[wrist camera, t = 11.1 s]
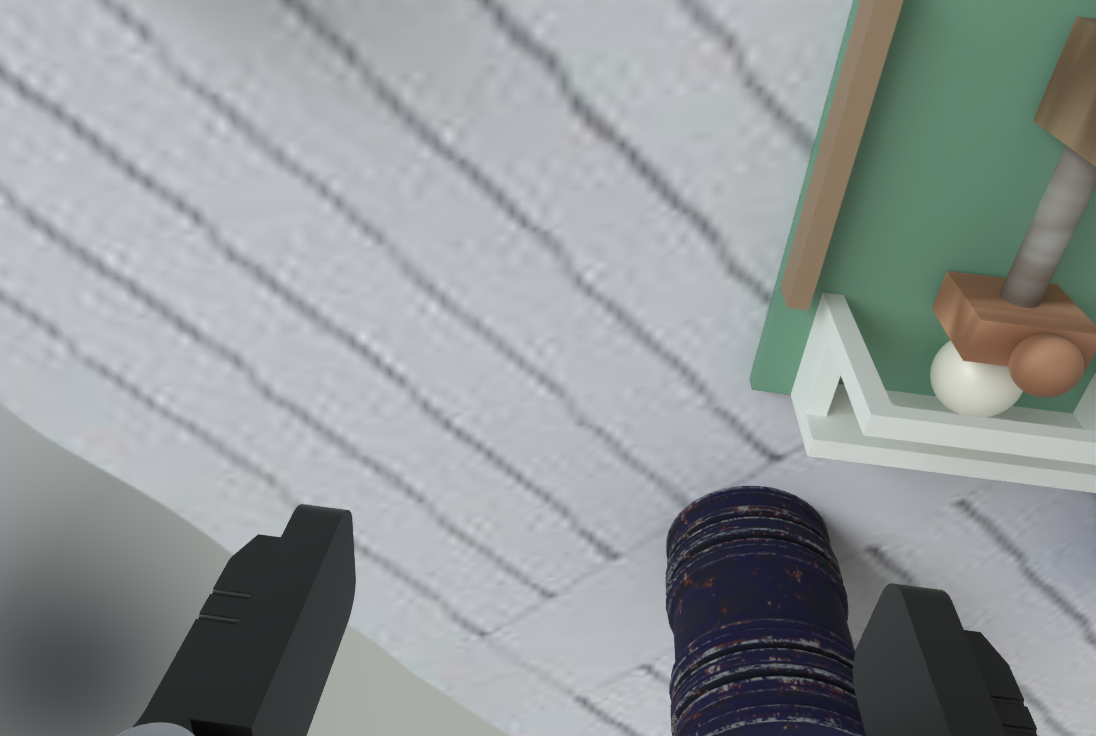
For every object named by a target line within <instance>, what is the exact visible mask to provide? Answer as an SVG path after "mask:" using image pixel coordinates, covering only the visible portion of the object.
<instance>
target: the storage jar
mask: <svg viewBox="0 0 1096 736" xmlns="http://www.w3.org/2000/svg"><path fill="white" fill-rule="evenodd" d="M666 550H667V559H668V560H667V570H666V596H667V598H666V610H667V615H668V620H669V624H670V628H671V630H672V632H673V634H674V644H675V664H674V666H673V670H672V673H671V681H670V690H669V694H670V698H671V732H672V736H866V734H865V730H864V726H863V722H862V718H861V714H860V710H859V706H858V702H857V698H856V694H855V690H854V683H853V663H854V656H855V652H856V651H855V650H854V647H853V643H852V639H851V636H850V632H849V628H848V624H847V619H848V602H847V594H846V591H845V587H844V585H843V580H842V576H841V572H840V569H839V565H838V562H837V558H836V556H835V554H834V553H833V551H832V548H831V545H830V540H829V536H828V533H827V529H826V526H825V524H824V522H823V520H822V518H821V516H820V515H819V514H818V513H817V512H816V510H815V509H814V508H813V507H811V506H810V505H809V504H808V503H807V502H805V501H803V500H802V499H800V498H798V497H797V496H795V495H792V494H790V493H787V492H785V491H782V490H778V489H774V488H769V487H761V486H741V487H732V488H727V489H723V490H719V491H716V492H713V493H710V494H707V495H705V496H703V497H701V498H699V499H697V500H696V501H694V502H693V503H691V504H690V505H689V506H687V507H686V508H685V509H684V510H683V511H682V512H681V513H680V514H679V515H678V516H677V518H676V519H675V520H674V522H673V523H672V525H671V528H670V530H669V532H668V536H667V546H666Z"/></svg>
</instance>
